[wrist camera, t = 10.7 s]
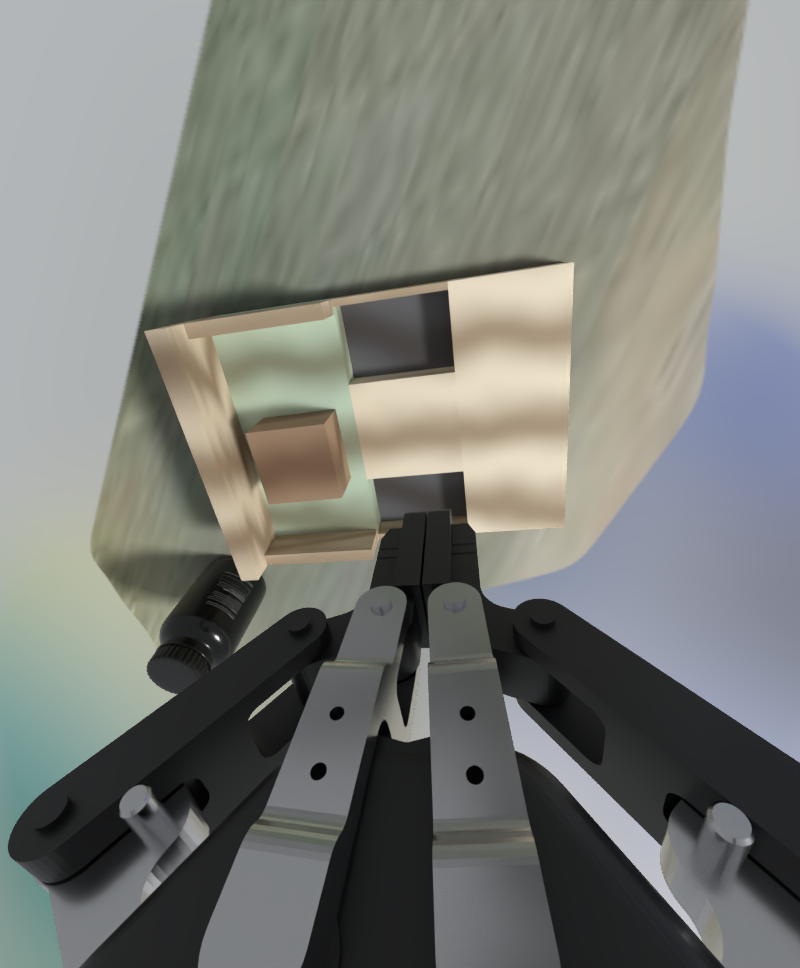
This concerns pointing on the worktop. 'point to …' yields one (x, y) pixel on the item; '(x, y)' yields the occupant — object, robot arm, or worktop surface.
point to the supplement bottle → (205, 626)
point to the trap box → (384, 409)
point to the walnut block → (300, 457)
